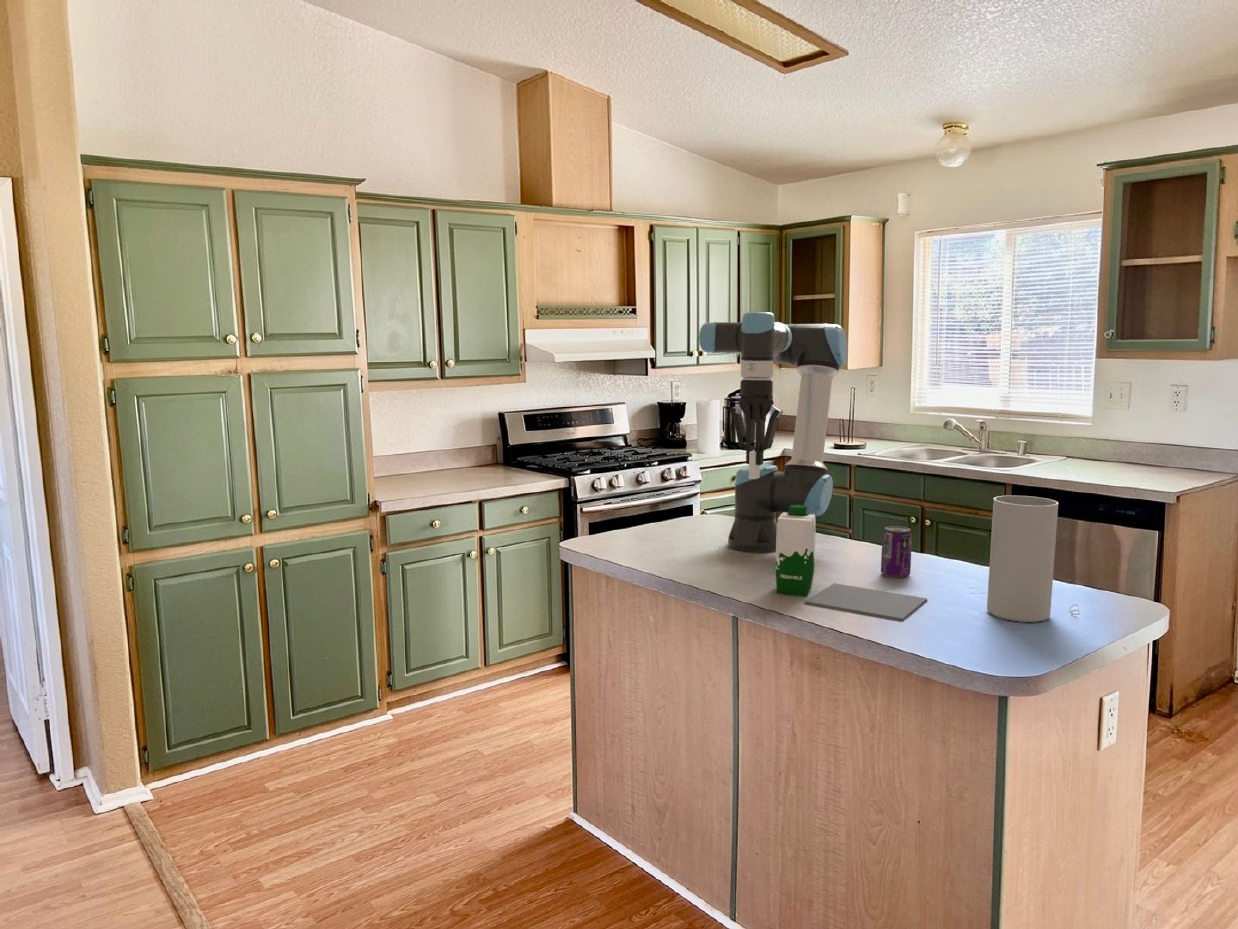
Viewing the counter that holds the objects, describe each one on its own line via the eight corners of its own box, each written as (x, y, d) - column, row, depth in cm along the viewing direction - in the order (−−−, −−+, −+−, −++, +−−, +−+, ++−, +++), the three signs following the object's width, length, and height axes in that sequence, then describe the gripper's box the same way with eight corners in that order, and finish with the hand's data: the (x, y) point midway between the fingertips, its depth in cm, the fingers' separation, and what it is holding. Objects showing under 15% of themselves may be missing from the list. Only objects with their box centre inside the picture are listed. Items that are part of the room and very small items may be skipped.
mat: (804, 603, 200) (804, 600, 200) (834, 585, 215) (834, 583, 215) (902, 621, 188) (902, 618, 188) (927, 601, 203) (927, 598, 203)
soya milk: (815, 588, 213) (818, 505, 210) (810, 598, 205) (812, 512, 202) (778, 584, 216) (781, 503, 213) (771, 594, 208) (774, 509, 205)
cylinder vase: (976, 606, 198) (983, 495, 195) (1030, 605, 199) (1038, 495, 196) (1004, 624, 186) (1012, 506, 183) (1062, 623, 187) (1070, 505, 184)
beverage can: (911, 579, 220) (914, 532, 219) (881, 578, 222) (884, 531, 220) (908, 572, 227) (910, 526, 226) (879, 571, 229) (881, 525, 227)
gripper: (724, 378, 210) (722, 477, 213) (775, 380, 203) (772, 482, 206) (739, 377, 216) (736, 474, 220) (789, 379, 209) (786, 478, 212)
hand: (754, 478), depth 213 cm, fingers closed
